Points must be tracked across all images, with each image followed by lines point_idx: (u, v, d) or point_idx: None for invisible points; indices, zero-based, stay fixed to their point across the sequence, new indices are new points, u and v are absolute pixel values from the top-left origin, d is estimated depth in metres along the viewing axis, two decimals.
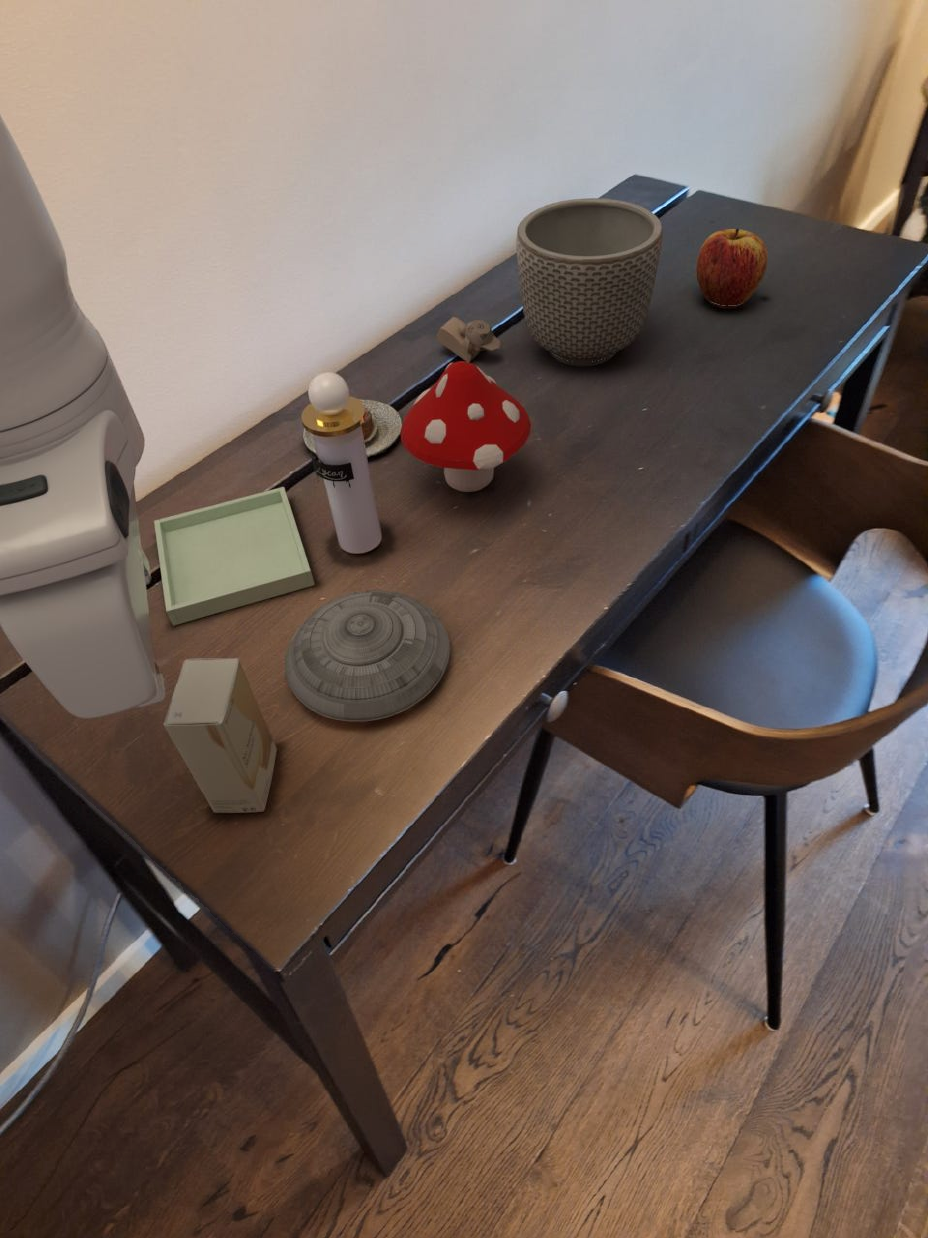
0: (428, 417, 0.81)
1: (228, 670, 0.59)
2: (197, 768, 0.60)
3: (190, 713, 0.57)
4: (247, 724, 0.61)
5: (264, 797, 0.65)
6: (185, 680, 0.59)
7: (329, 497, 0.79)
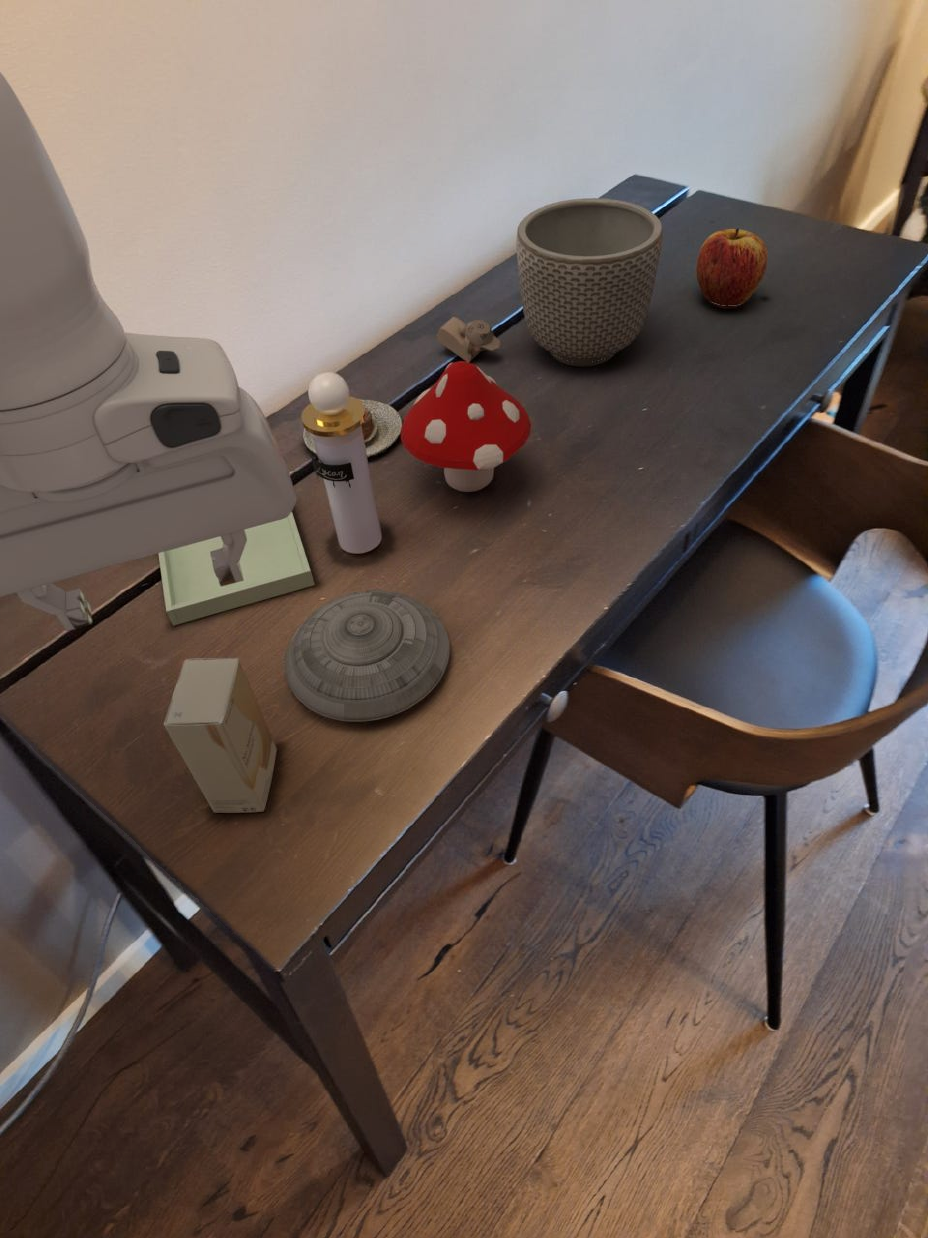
0: (428, 417, 0.81)
1: (228, 670, 0.59)
2: (197, 768, 0.60)
3: (190, 713, 0.57)
4: (247, 724, 0.61)
5: (264, 797, 0.65)
6: (185, 680, 0.59)
7: (329, 497, 0.79)
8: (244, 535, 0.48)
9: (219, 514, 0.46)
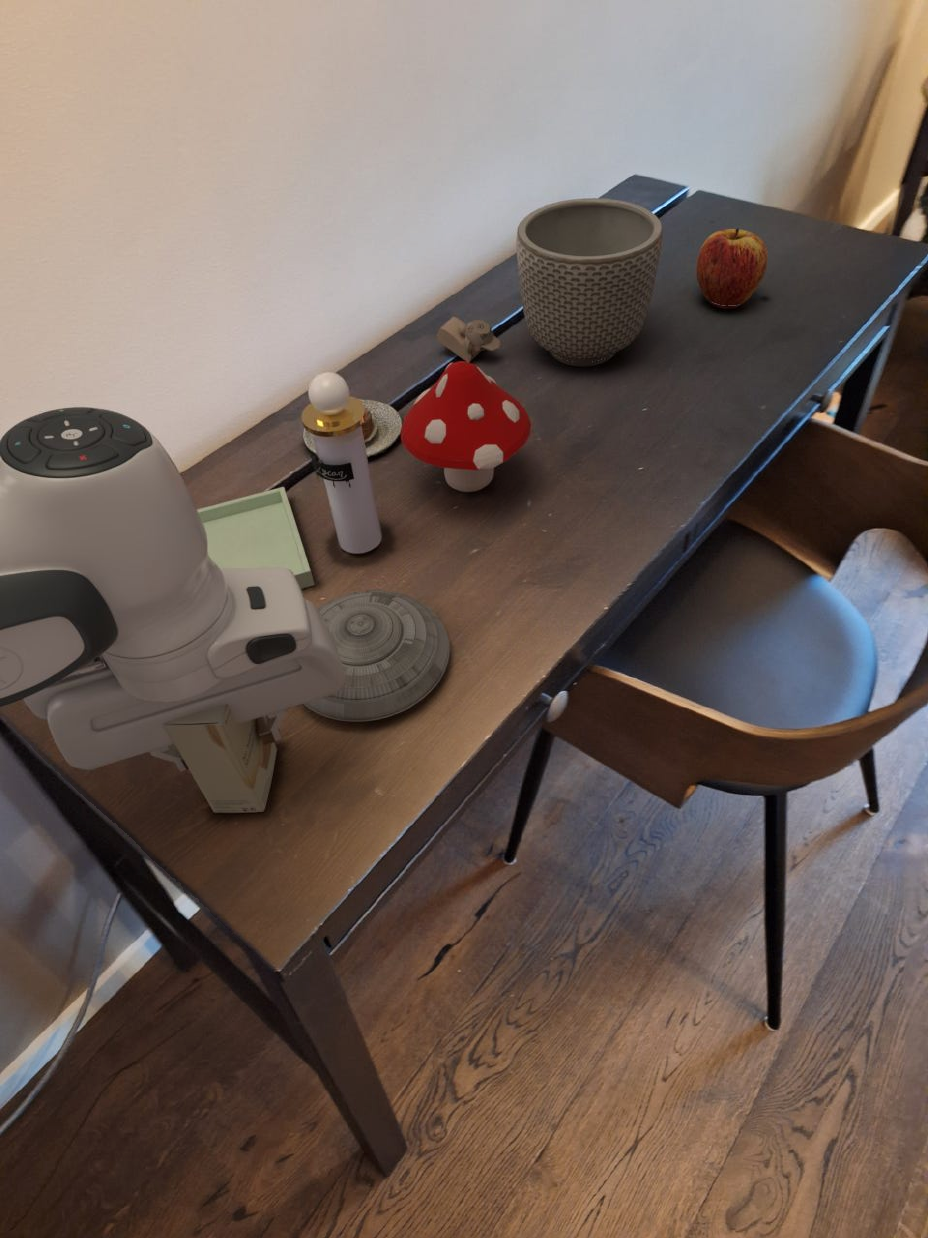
0: (428, 417, 0.81)
1: None
2: (197, 768, 0.60)
3: None
4: (247, 724, 0.61)
5: (264, 797, 0.65)
6: None
7: (329, 497, 0.79)
8: (284, 711, 0.61)
9: (287, 696, 0.59)
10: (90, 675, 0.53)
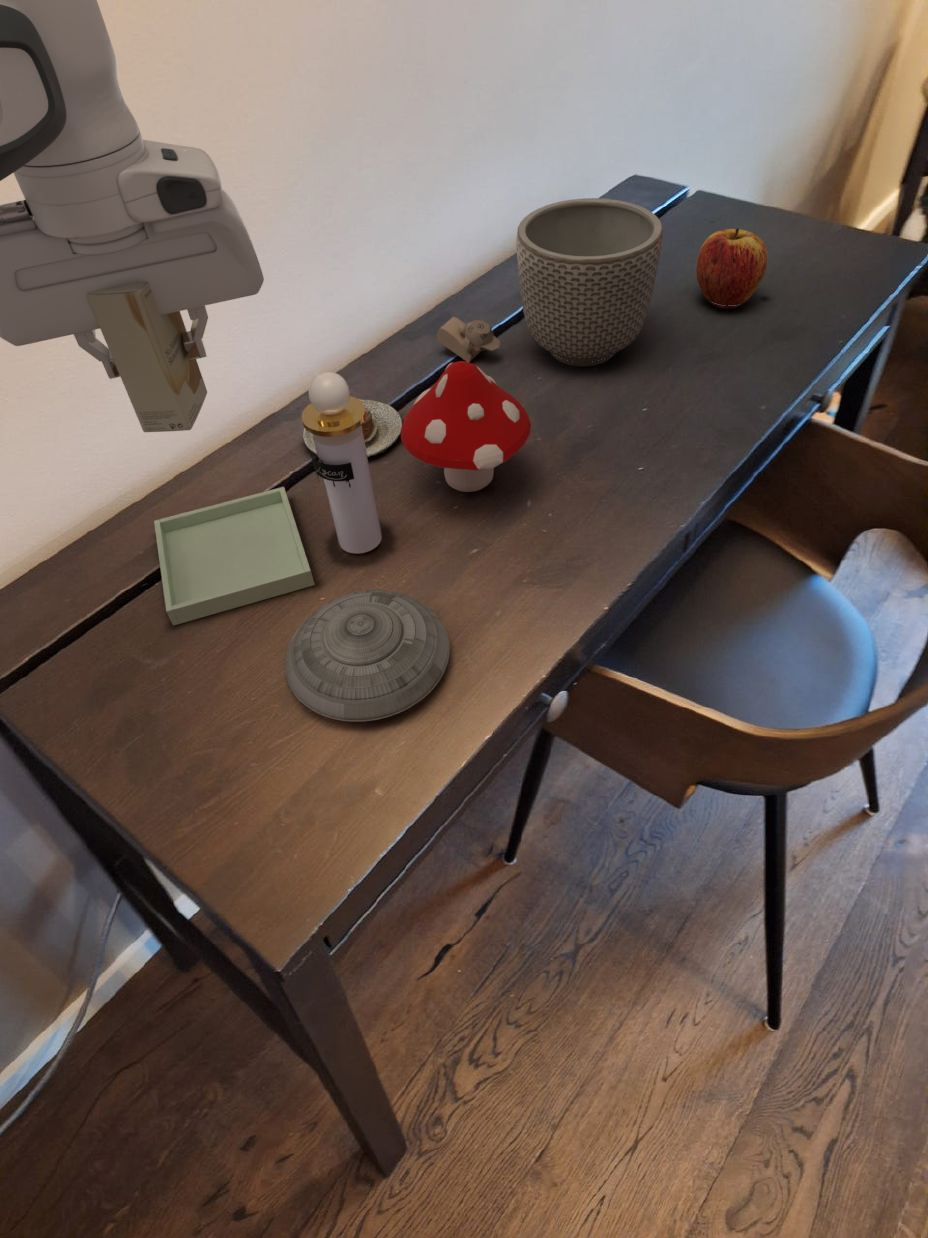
0: (428, 417, 0.81)
1: None
2: (122, 361, 0.64)
3: None
4: (170, 326, 0.65)
5: (191, 416, 0.68)
6: None
7: (329, 497, 0.79)
8: (206, 313, 0.65)
9: (205, 284, 0.62)
10: (13, 223, 0.57)
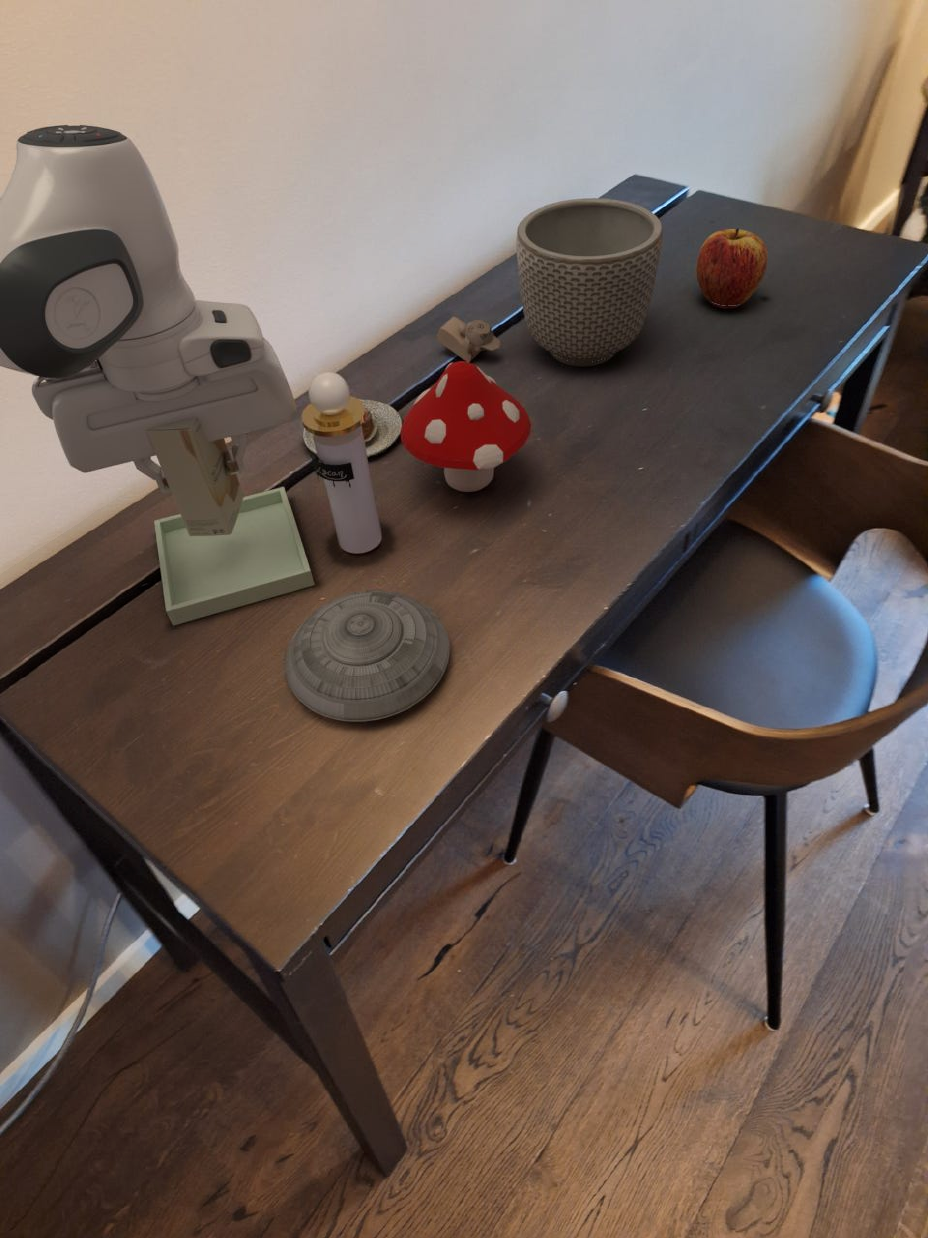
0: (428, 417, 0.81)
1: None
2: (174, 481, 0.74)
3: None
4: (215, 449, 0.74)
5: (231, 522, 0.78)
6: None
7: (329, 497, 0.79)
8: (246, 438, 0.74)
9: (247, 417, 0.72)
10: (86, 376, 0.66)
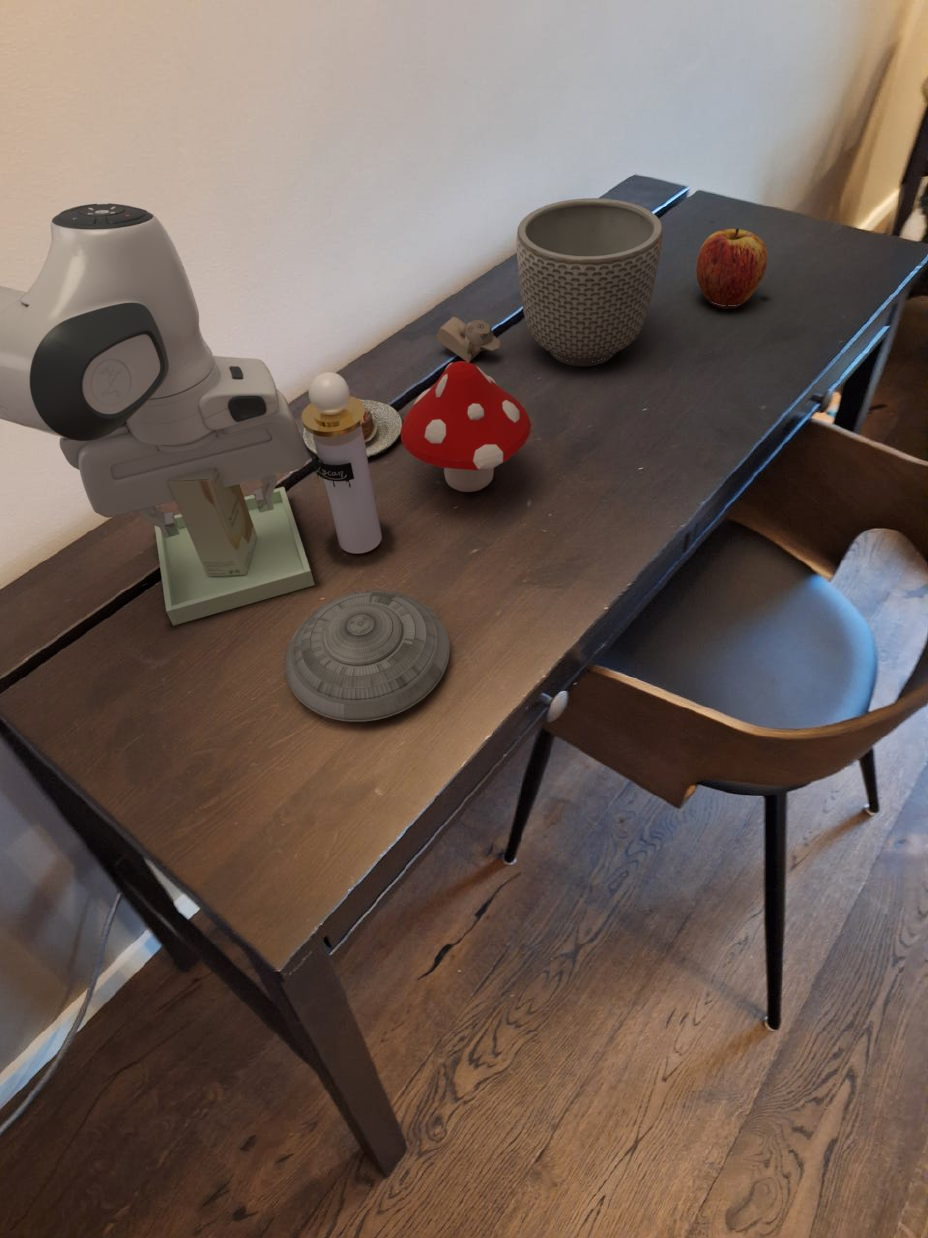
0: (428, 417, 0.81)
1: None
2: (193, 527, 0.78)
3: (187, 474, 0.74)
4: (232, 495, 0.78)
5: (246, 563, 0.82)
6: None
7: (329, 497, 0.79)
8: (275, 478, 0.79)
9: (261, 464, 0.76)
10: None
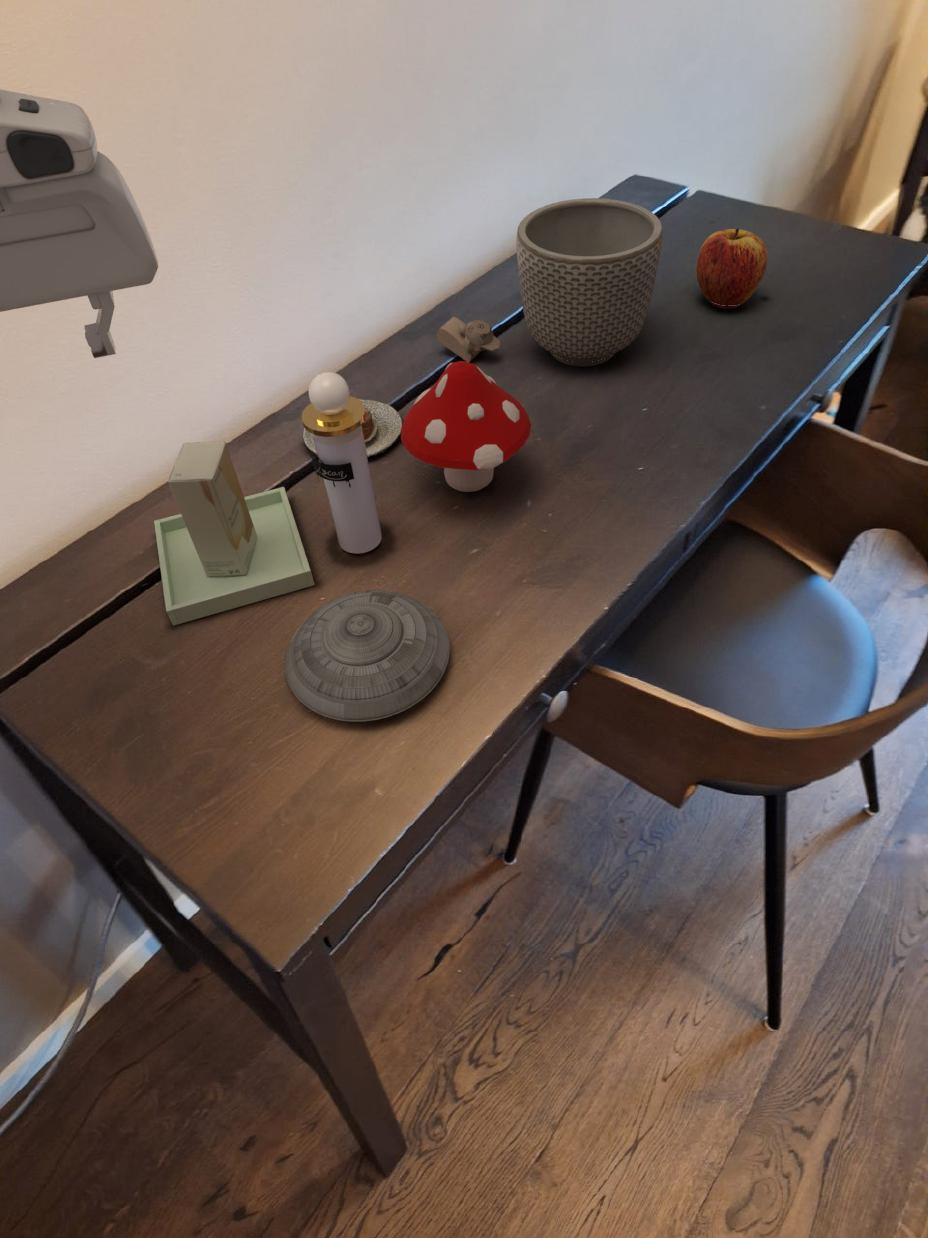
0: (428, 417, 0.81)
1: (217, 448, 0.77)
2: (193, 527, 0.78)
3: (187, 473, 0.74)
4: (232, 495, 0.78)
5: (246, 563, 0.82)
6: (184, 454, 0.76)
7: (329, 497, 0.79)
8: (111, 301, 0.54)
9: (83, 269, 0.51)
10: None
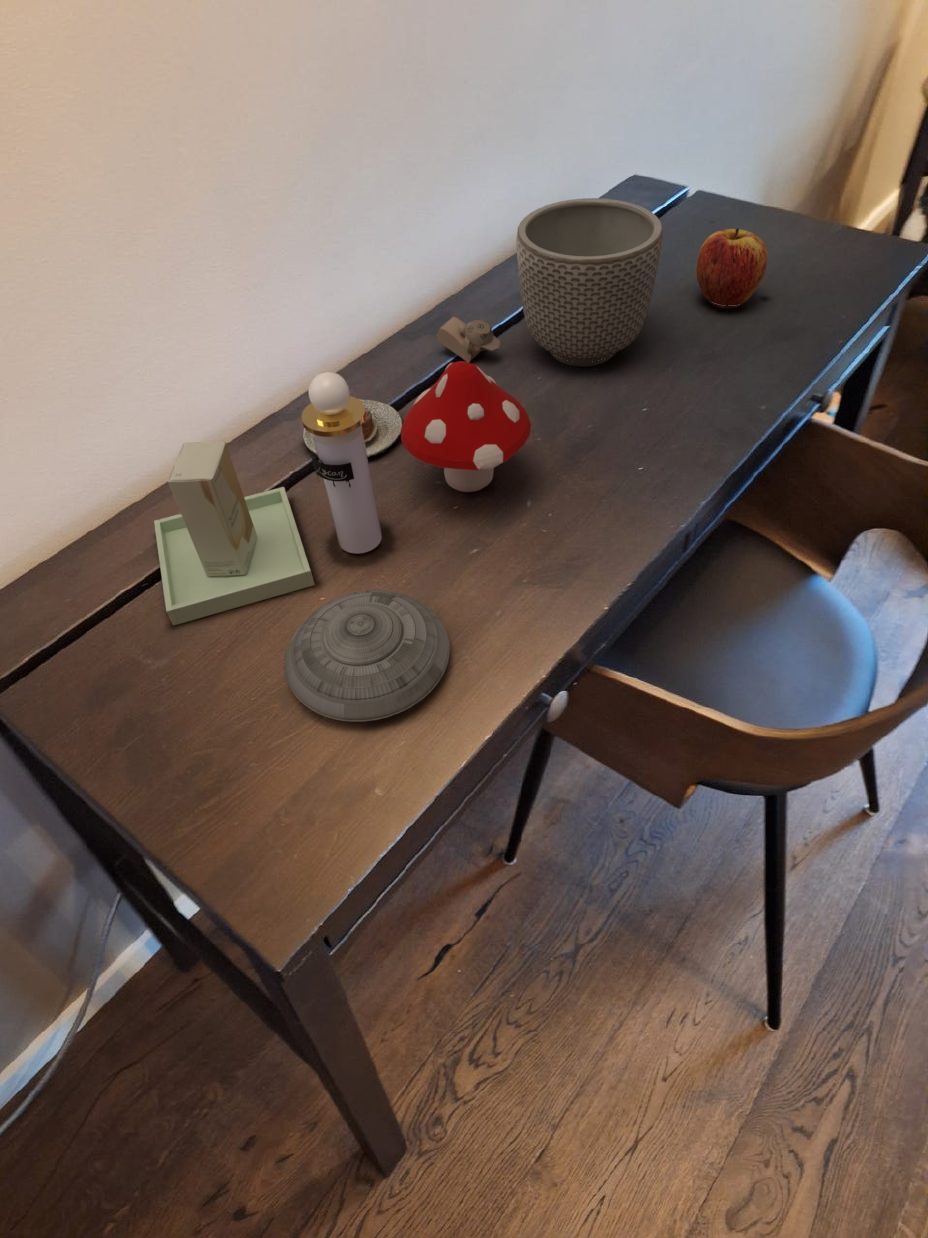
0: (428, 417, 0.81)
1: (217, 448, 0.77)
2: (193, 527, 0.78)
3: (187, 473, 0.74)
4: (232, 495, 0.78)
5: (246, 563, 0.82)
6: (184, 454, 0.76)
7: (329, 497, 0.79)
8: None
9: None
10: None
